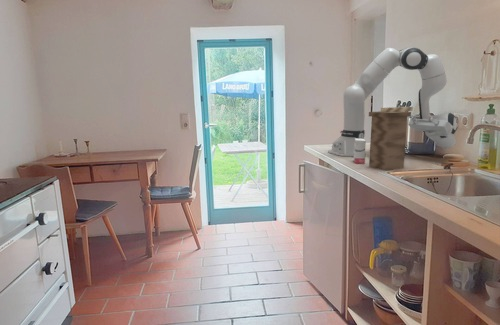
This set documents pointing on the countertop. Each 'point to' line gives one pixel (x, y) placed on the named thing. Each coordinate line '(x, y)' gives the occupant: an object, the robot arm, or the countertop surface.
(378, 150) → the wooden canister
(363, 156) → the ink box
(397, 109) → the stick
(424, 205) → the countertop surface
